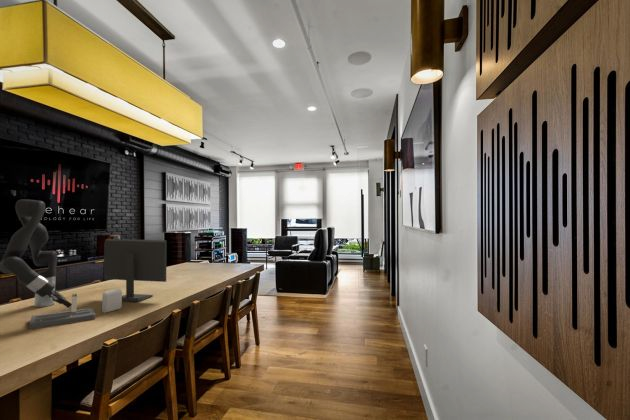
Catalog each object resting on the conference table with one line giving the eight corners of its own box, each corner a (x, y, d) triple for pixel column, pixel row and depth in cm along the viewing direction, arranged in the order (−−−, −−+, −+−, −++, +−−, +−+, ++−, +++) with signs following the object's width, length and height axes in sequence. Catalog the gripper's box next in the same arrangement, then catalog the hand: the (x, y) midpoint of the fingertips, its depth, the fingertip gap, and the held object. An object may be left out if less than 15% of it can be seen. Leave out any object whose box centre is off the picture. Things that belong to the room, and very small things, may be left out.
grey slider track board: (31, 320, 161) (31, 313, 161) (92, 311, 177) (92, 305, 177) (29, 329, 148) (29, 322, 148) (94, 319, 165) (95, 312, 165)
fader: (70, 313, 166) (70, 294, 166) (77, 312, 168) (77, 293, 168) (70, 314, 163) (71, 295, 163) (77, 313, 165) (78, 294, 165)
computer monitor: (170, 297, 213) (172, 239, 214) (156, 303, 197) (158, 241, 198) (112, 294, 217) (115, 238, 219) (94, 300, 201) (96, 239, 203)
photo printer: (105, 313, 175) (105, 291, 175) (100, 312, 177) (101, 290, 177) (122, 308, 184) (123, 288, 185) (118, 307, 186) (119, 287, 186)
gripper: (47, 282, 154) (77, 303, 161) (48, 278, 164) (76, 297, 171) (32, 294, 150) (63, 315, 158) (34, 289, 160) (63, 309, 168)
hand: (70, 306), depth 165 cm, fingers closed
